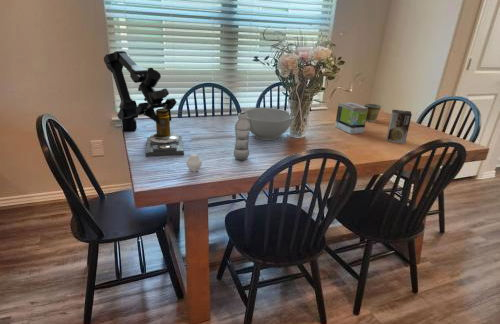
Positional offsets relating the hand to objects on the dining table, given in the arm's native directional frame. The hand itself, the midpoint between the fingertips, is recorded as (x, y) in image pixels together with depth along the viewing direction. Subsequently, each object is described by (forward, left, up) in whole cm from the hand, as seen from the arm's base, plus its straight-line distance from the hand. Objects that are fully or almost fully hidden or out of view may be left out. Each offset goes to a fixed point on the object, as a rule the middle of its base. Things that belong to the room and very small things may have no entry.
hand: (165, 121), depth 147 cm
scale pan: (-1, +1, -9) cm, 9 cm away
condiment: (-1, +1, -7) cm, 7 cm away
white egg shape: (+10, -29, -12) cm, 33 cm away
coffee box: (+118, -8, -12) cm, 119 cm away
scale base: (-1, -2, -12) cm, 12 cm away
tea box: (+103, +14, -12) cm, 105 cm away
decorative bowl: (+51, +8, -12) cm, 53 cm away
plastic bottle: (+31, -20, -12) cm, 39 cm away
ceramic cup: (+128, +32, -12) cm, 133 cm away
